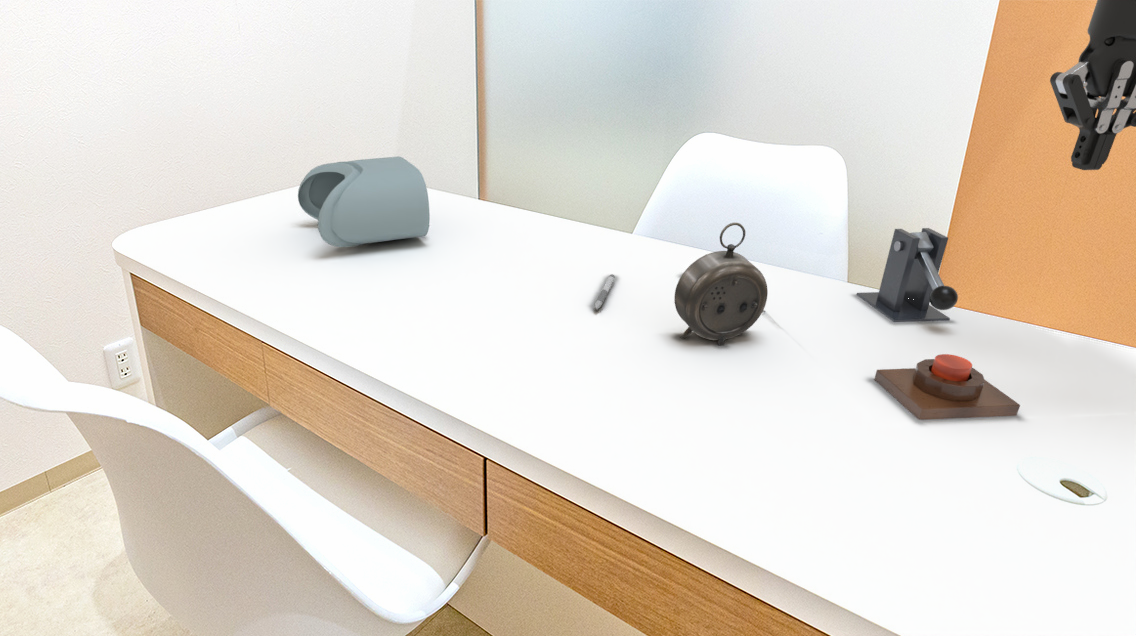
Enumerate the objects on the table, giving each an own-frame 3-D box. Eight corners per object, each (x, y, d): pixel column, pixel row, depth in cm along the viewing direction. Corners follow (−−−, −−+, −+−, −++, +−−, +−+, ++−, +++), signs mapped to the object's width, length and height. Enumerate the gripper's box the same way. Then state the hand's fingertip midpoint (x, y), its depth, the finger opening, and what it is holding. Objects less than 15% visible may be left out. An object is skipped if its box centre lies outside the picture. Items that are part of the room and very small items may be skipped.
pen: (615, 281, 118) (616, 272, 117) (599, 315, 106) (599, 305, 105) (609, 280, 118) (609, 272, 117) (592, 314, 106) (592, 305, 106)
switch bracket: (947, 326, 103) (973, 244, 98) (892, 328, 102) (914, 245, 97) (906, 298, 112) (927, 221, 107) (855, 300, 111) (873, 222, 106)
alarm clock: (744, 332, 101) (765, 214, 94) (764, 349, 96) (787, 227, 89) (667, 337, 99) (682, 218, 92) (683, 356, 95) (700, 231, 87)
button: (954, 367, 84) (958, 353, 84) (975, 382, 81) (980, 368, 80) (924, 368, 84) (928, 354, 83) (943, 383, 81) (948, 369, 80)
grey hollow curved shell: (431, 248, 132) (428, 175, 126) (322, 261, 125) (314, 185, 119) (396, 215, 150) (392, 150, 144) (300, 225, 143) (292, 157, 137)
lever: (953, 314, 98) (967, 299, 96) (930, 315, 98) (943, 300, 96) (918, 245, 105) (931, 229, 102) (897, 246, 105) (908, 230, 102)
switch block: (960, 382, 89) (970, 352, 87) (1014, 422, 81) (1026, 390, 79) (872, 385, 88) (880, 355, 86) (917, 426, 80) (927, 394, 78)
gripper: (1119, -17, 67) (1052, 178, 74) (1256, -17, 68) (1175, 176, 75) (1056, -18, 73) (1001, 161, 81) (1181, -17, 74) (1114, 160, 82)
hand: (1085, 168), depth 78 cm, fingers closed
